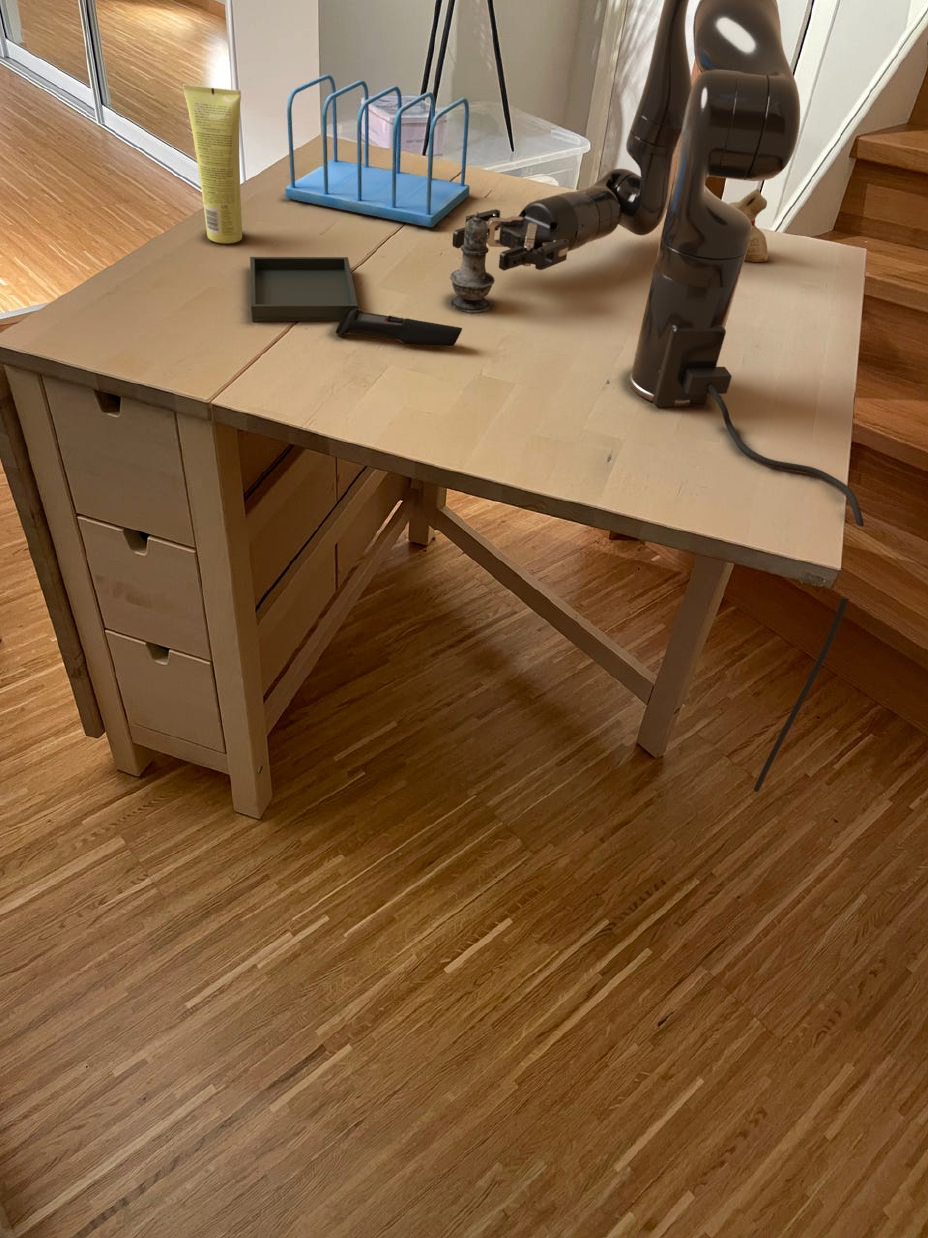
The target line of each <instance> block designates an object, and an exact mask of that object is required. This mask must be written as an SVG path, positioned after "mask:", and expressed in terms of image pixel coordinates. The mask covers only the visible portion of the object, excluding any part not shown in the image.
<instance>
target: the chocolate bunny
mask: <svg viewBox="0 0 928 1238" xmlns="http://www.w3.org/2000/svg"><path fill="white" fill-rule="evenodd" d="M728 204H729V205H731V206H733V207H734V208H736V209H738V210H740V211H741V212H742V213H744V214H745V215H746V216H747V217H748V218H749V220H750V221H751V224H752V235H751V239H750V242H749V246H748V249H747V252H746V256H745V259H744V262H750V263H763V262H768V261H769V257H770V254H769V251H768V244H767V239H766V236H765V234H764V233H763V232H762V230H760V228H759V227H757V226H756V218H757V216H758V215H759V214H760V213H761V212H762V211H764V210H765V209H766V208H767V205H768V201H767V199H766V198H765V197H763V195H762V193H761V192H760V189H759V188H756V189H754V190H753V191H751V192H750V193H748V194H747V195H745V196H744V197H743V198H742V199H740V200H739V201H734V202H730V203H728Z"/></svg>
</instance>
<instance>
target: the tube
mask: <svg viewBox="0 0 928 1238" xmlns="http://www.w3.org/2000/svg"><path fill="white" fill-rule="evenodd" d="M182 88H183V90H182V91H183V95H184V97H185V101H186V106H187V111H188V115H189V121H190V126H191V133H192V137H193V143H194V151H195V155H196V161H197V162H196V163H197V168H198V174H199V175H198V176H199V182H200V190H201V196H202V197H201V198H202V205H203V212H204V220H205V227H206V236H207V239H209V240H210V241H212V242H214V243H216V244H217V243H218V244H234V243H237V242H240V241H241V240H242V239H243V224H242V222H243V221H242V220H243V219H242V199H241V196H242V195H241V167H240V166H241V165H240V164H241V163H240V162H241V161H240V116H241V115H240V113H241V99H242V92H241V90H239V89H229V88H228V89H227V88H219V87H210V86H201V85H194V84H185V83H183V84H182Z"/></svg>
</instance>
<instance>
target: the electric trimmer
mask: <svg viewBox="0 0 928 1238" xmlns="http://www.w3.org/2000/svg"><path fill="white" fill-rule="evenodd" d="M462 331H463V328H462V327H459V326H453V325H447V324H441V323H436V322H430V321H423V320H418V319H412V318H407V317H406V318H403V317H397V316H393V315H386V314H385V315H383V314H378V313H373V312H372V313H371V312H365V311H362V310H360V309H359V308H358V309H357V308H356V309H354V310H352V311H350V310H348V309H347V311H346V312H345V314H344V316H343V317H342V319H341V321H339V323H338V325H337V327H336V330H335V335H339V336H340V337H341V338H344V337H345V335H347V334H349V335H350V334H351V335H357V336H364V337H372V338H379V339H387V340H395V341H399V342H400V343H401V344H404V345H410V346H412V345H413V346H429V347H454V346H455V345H456V343H457V341H458V339H459V337H460V335H461V334H462Z"/></svg>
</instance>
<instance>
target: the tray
mask: <svg viewBox="0 0 928 1238" xmlns="http://www.w3.org/2000/svg"><path fill="white" fill-rule="evenodd" d="M249 265H250V266H249V270H250V271H249V276H250V280H249V281H250V312H251V322H340V321H341V319H342V317H343V316H344V314H345V312H346V311H347V309H348V310H350V311H352V310H354V309H356V308H357V309H359V304H358V299H357V295H356V290H355V285H354V280H353V279H354V278H353V274H352V270H351V265H350V259H349V257H348V256H250V257H249Z"/></svg>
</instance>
